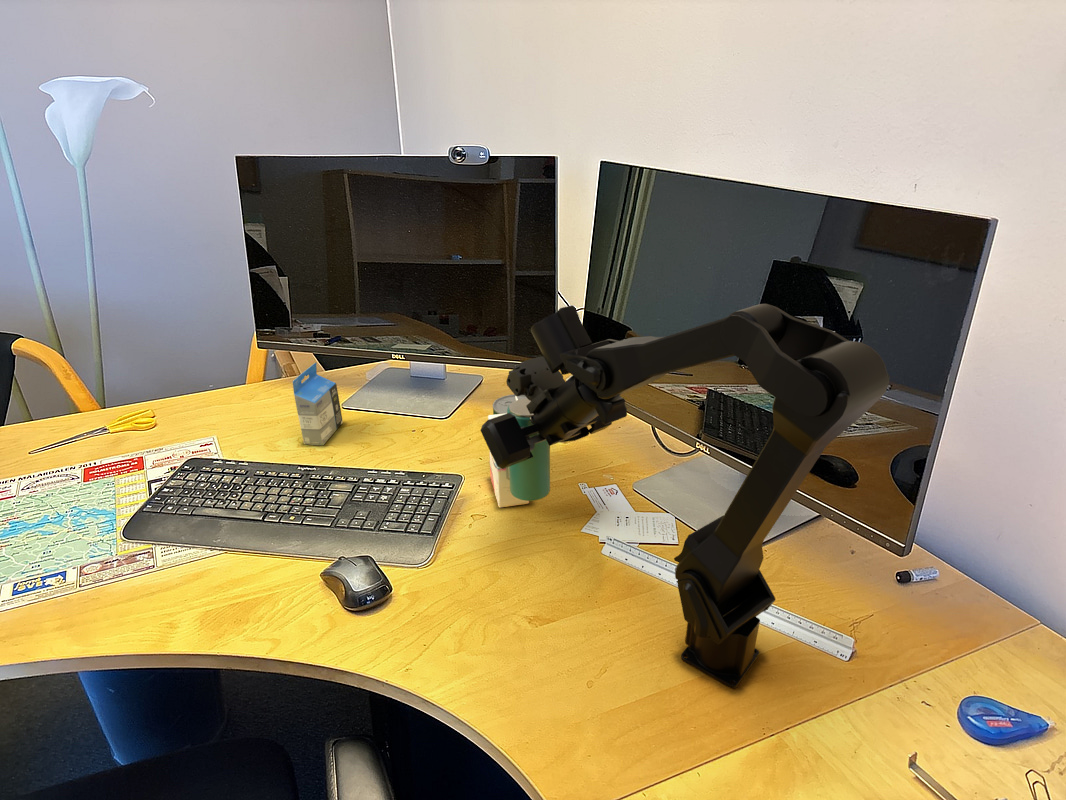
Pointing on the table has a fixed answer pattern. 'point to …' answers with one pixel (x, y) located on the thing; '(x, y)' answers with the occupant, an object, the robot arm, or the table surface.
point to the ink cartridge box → (502, 481)
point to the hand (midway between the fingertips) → (522, 446)
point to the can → (530, 462)
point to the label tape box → (317, 406)
